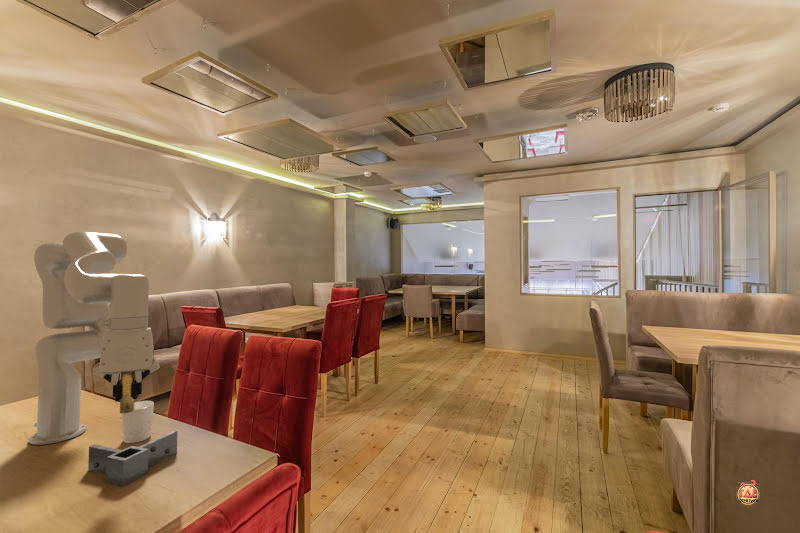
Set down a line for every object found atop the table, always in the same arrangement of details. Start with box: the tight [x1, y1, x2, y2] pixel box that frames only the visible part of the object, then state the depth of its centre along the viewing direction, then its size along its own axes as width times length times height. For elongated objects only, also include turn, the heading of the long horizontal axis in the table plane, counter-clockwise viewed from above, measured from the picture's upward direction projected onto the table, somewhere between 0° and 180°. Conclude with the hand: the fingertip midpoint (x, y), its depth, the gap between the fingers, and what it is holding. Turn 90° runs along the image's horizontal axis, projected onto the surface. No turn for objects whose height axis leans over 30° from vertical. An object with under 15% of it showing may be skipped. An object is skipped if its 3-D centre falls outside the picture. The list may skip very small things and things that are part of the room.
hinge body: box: [87, 430, 178, 487], centre depth 91 cm, size 16×16×6 cm
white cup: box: [121, 400, 155, 444], centre depth 106 cm, size 8×8×10 cm
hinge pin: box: [119, 371, 136, 415], centre depth 85 cm, size 4×4×13 cm
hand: (127, 398), depth 85 cm, fingers closed on hinge pin, 2 cm apart
